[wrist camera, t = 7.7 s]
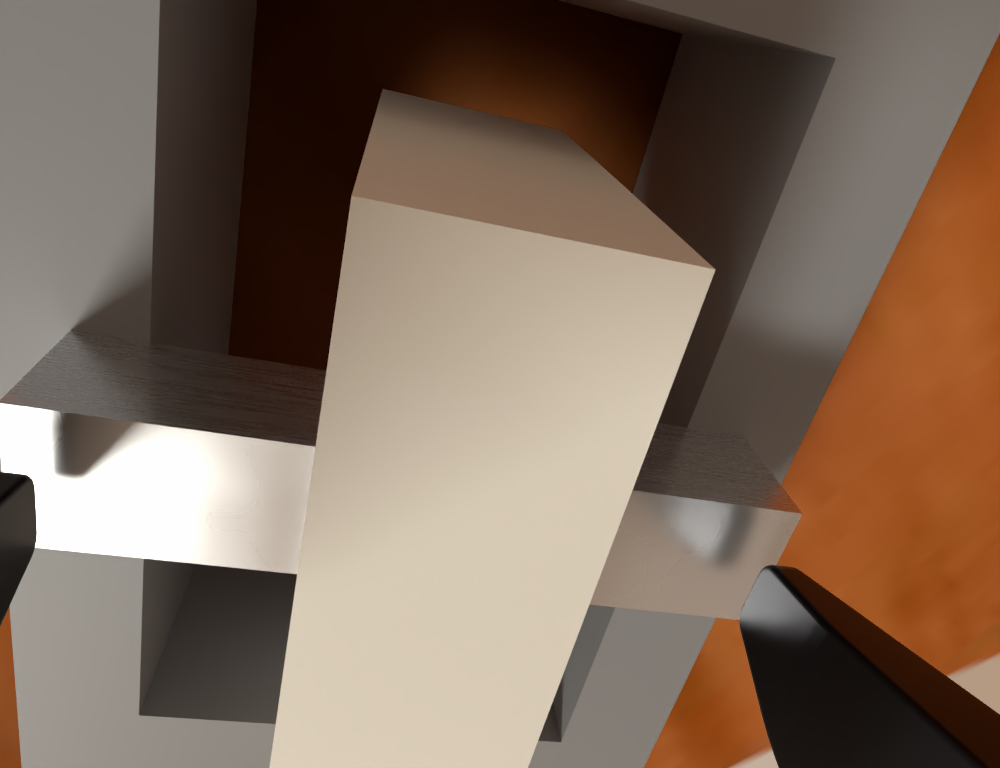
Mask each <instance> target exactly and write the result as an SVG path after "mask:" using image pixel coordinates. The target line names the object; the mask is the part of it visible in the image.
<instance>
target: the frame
mask: <svg viewBox="0 0 1000 768" xmlns="http://www.w3.org/2000/svg"><path fill="white" fill-rule="evenodd" d="M559 1H563V2H567V3H570V4H574V5H578V6H581V7H585V8H589V9H592V10H596V11H599V12H603V13H607V14H610V15H614V16H618V17H621V18H625V19H629V20H632V21H636V22H640V23H643V24H647V25H651V26H654V27H658V28H662V29H665V30H669V31H673V32H676V33H680V34H682V37H681V40H680V44H679V47H678V50H677V53H676V56H675V60H674V63H673V66H672V69H671V72H670V76H669V79H668V82H667V85H666V88H665V92H664V95H663V98H662V101H661V104H660V107H659V111H658V114H657V117H656V120H655V123H654V127H653V130H652V133H651V136H650V139H649V143H648V146H647V149H646V152H645V155H644V159H643V162H642V165H641V168H640V171H639V175H638V178H637V181H636V184H635V187H634V191H633V195H634V196H635V197H636V198H638V199H639V200H640V201H641V202H642V203H643V204H644V205H645V206H646V207H647V208H649V209H650V210H651V211H652V212H653V213H654V214H655V215H656V216H657V217H658V218H660V219H661V220H662V221H663V222H664V223H665V224H666V225H667V226H668V227H669V228H670V229H672V230H673V231H674V232H675V233H676V234H677V235H678V236H679V237H680V238H681V239H683V240H684V241H685V242H686V243H687V244H688V245H689V246H690V247H691V248H692V249H694V250H695V251H696V252H697V253H698V254H699V255H700V256H701V257H702V258H703V259H705V260H706V261H707V262H708V263H709V264H710V265H711V266H712V267H713V268H714V269H716V270H715V273H714V275H713V278H712V281H711V283H710V286H709V289H708V291H707V294H706V297H705V299H704V302H703V304H702V307H701V310H700V312H699V315H698V318H697V320H696V323H695V326H694V328H693V331H692V334H691V336H690V339H689V342H688V344H687V347H686V350H685V352H684V355H683V358H682V360H681V363H680V366H679V368H678V371H677V373H676V376H675V379H674V381H673V384H672V387H671V389H670V392H669V395H668V397H667V400H666V403H665V405H664V408H663V411H662V413H661V416H660V419H659V421H658V423H661V424H667V425H674V426H680V427H686V428H693V429H699V430H705V431H711V432H718V433H724V434H730V435H737V436H743V437H745V438H746V439H747V441H748V442H749V443H750V445H751V446H752V447H753V449H754V450H755V451H756V453H757V454H758V455H759V457H760V458H761V459H762V461H763V462H764V463H765V465H766V466H767V467H768V469H769V470H770V471H771V473H772V474H773V475H774V477H775V478H776V479H777V481H778V482H779V483H780V485H781V483H782V481H783V479H784V477H785V475H786V473H787V471H788V469H789V467H790V465H791V463H792V461H793V458H794V456H795V454H796V452H797V450H798V448H799V446H800V444H801V442H802V440H803V438H804V436H805V434H806V432H807V430H808V428H809V425H810V423H811V421H812V419H813V417H814V415H815V413H816V411H817V409H818V407H819V405H820V403H821V401H822V399H823V397H824V395H825V393H826V390H827V388H828V386H829V384H830V382H831V380H832V378H833V376H834V374H835V372H836V370H837V368H838V366H839V364H840V362H841V360H842V357H843V355H844V353H845V351H846V349H847V347H848V345H849V343H850V341H851V339H852V337H853V335H854V333H855V331H856V329H857V327H858V324H859V322H860V320H861V318H862V316H863V314H864V312H865V310H866V308H867V306H868V304H869V302H870V300H871V298H872V296H873V294H874V291H875V289H876V287H877V285H878V283H879V281H880V279H881V277H882V275H883V273H884V271H885V269H886V267H887V265H888V263H889V261H890V258H891V256H892V254H893V252H894V250H895V248H896V246H897V244H898V242H899V240H900V238H901V236H902V234H903V232H904V230H905V228H906V225H907V223H908V221H909V219H910V217H911V215H912V213H913V211H914V209H915V207H916V205H917V203H918V201H919V199H920V197H921V195H922V193H923V190H924V188H925V186H926V184H927V182H928V180H929V178H930V176H931V174H932V172H933V170H934V168H935V166H936V164H937V162H938V160H939V157H940V155H941V153H942V151H943V149H944V147H945V145H946V143H947V141H948V139H949V137H950V135H951V133H952V131H953V129H954V127H955V124H956V122H957V120H958V118H959V116H960V114H961V112H962V110H963V108H964V106H965V104H966V102H967V100H968V98H969V96H970V94H971V91H972V89H973V87H974V85H975V83H976V81H977V79H978V77H979V75H980V73H981V71H982V69H983V67H984V65H985V63H986V61H987V58H988V56H989V54H990V52H991V50H992V48H993V46H994V44H995V42H996V40H997V38H998V36H999V34H1000V0H559ZM256 10H257V0H0V400H1V399H2V398H3V397H4V396H5V395H6V394H7V393H8V392H9V391H10V390H11V389H12V388H13V387H14V386H15V385H16V384H17V383H18V382H19V381H20V380H21V379H22V378H23V377H24V376H25V375H26V374H27V373H28V372H29V371H30V370H31V369H32V368H33V367H34V366H35V365H36V364H37V363H38V362H39V361H40V360H41V359H42V358H43V357H44V356H45V355H46V354H47V353H48V352H49V351H50V350H51V349H52V348H53V347H54V346H55V345H56V344H57V343H58V342H59V341H60V340H61V339H62V338H63V337H64V336H65V335H66V334H67V333H68V332H69V331H70V330H73V331H79V332H86V333H92V334H98V335H105V336H111V337H117V338H124V339H130V340H136V341H143V342H149V343H155V344H162V345H168V346H174V347H180V348H187V349H193V350H199V351H206V352H212V353H218V354H225V355H229V343H230V331H231V318H232V306H233V294H234V281H235V269H236V257H237V244H238V232H239V220H240V207H241V195H242V183H243V170H244V158H245V146H246V133H247V121H248V109H249V96H250V84H251V72H252V59H253V47H254V35H255V22H256ZM0 471H1V472H2V461H1V447H0ZM296 579H297V574H290V573H280V572H270V571H261V570H251V569H241V568H232V567H222V566H212V565H203V564H193V563H183V562H174V561H164V560H154V559H145V558H135V557H125V556H116V555H106V554H96V553H87V552H77V551H67V550H58V549H48V548H38V547H35V550H34V553H33V555H32V558H31V560H30V562H29V564H28V566H27V569H26V571H25V573H24V575H23V577H22V580H21V582H20V584H19V586H18V588H17V591H16V593H15V595H14V597H13V599H12V602H11V604H10V618H11V631H12V644H13V658H14V671H15V684H16V698H17V711H18V724H19V738H20V751H21V764H22V768H269V767H270V760H271V753H272V746H273V739H274V732H275V725H276V718H277V711H278V704H279V697H280V690H281V683H282V676H283V669H284V662H285V656H286V649H287V642H288V635H289V628H290V621H291V614H292V607H293V600H294V593H295V586H296ZM715 619H716V618H715V617H706V616H696V615H686V614H677V613H667V612H657V611H648V610H638V609H628V608H619V607H609V606H599V605H590V604H589V607H588V610H587V612H586V615H585V618H584V620H583V623H582V626H581V628H580V631H579V634H578V636H577V639H576V642H575V644H574V647H573V649H572V652H571V655H570V657H569V660H568V663H567V665H566V668H565V671H564V673H563V676H562V679H561V681H560V684H559V687H558V689H557V692H556V695H555V697H554V700H553V703H552V705H551V708H550V711H549V713H548V716H547V718H546V721H545V724H544V726H543V729H542V732H541V734H540V737H539V740H538V742H537V745H536V748H535V750H534V753H533V756H532V758H531V761H530V764H529V766H528V768H644V766H645V764H646V762H647V760H648V757H649V755H650V753H651V751H652V749H653V747H654V745H655V743H656V741H657V739H658V737H659V735H660V733H661V731H662V729H663V727H664V724H665V722H666V720H667V718H668V716H669V714H670V712H671V710H672V708H673V706H674V704H675V702H676V700H677V698H678V696H679V694H680V691H681V689H682V687H683V685H684V683H685V681H686V679H687V677H688V675H689V673H690V671H691V669H692V667H693V665H694V663H695V661H696V658H697V656H698V654H699V652H700V650H701V648H702V646H703V644H704V642H705V640H706V638H707V636H708V634H709V632H710V630H711V628H712V625H713V623H714V621H715Z"/></svg>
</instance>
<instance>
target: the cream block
mask: <svg viewBox="0 0 1000 768" xmlns="http://www.w3.org/2000/svg"><path fill="white" fill-rule="evenodd" d="M715 270H716V269H714V268H713V267H712V266H711V265H710V264H709V263H708V262H707V261H706V260H705V259H703V258H702V257H701V256H700V255H699V254H698V253H697V252H696V251H695V250H694V249H692V248H691V247H690V246H689V245H688V244H687V243H686V242H685V241H684V240H683V239H681V238H680V237H679V236H678V235H677V234H676V233H675V232H674V231H673V230H672V229H670V228H669V227H668V226H667V225H666V224H665V223H664V222H663V221H662V220H661V219H660V218H658V217H657V216H656V215H655V214H654V213H653V212H652V211H651V210H650V209H649V208H647V207H646V206H645V205H644V204H643V203H642V202H641V201H640V200H639V199H638V198H636V197H635V196H634V195H633V194H632V193H631V192H630V191H629V190H628V189H627V188H625V187H624V186H623V185H622V184H621V183H620V182H619V181H618V180H617V179H616V178H614V177H613V176H612V175H611V174H610V173H609V172H608V171H607V170H606V169H605V168H603V167H602V166H601V165H600V164H599V163H598V162H597V161H596V160H595V159H594V158H592V157H591V156H590V155H589V154H588V153H587V152H586V151H585V150H584V149H583V148H582V147H580V146H579V145H578V144H577V143H576V142H575V141H574V140H573V139H572V138H571V137H569V136H568V135H567V134H566V133H565V132H564V131H562V130H557V129H553V128H549V127H544V126H540V125H536V124H532V123H527V122H523V121H519V120H514V119H510V118H506V117H502V116H497V115H493V114H489V113H484V112H480V111H476V110H472V109H467V108H463V107H459V106H455V105H450V104H446V103H442V102H437V101H433V100H429V99H425V98H420V97H416V96H412V95H407V94H403V93H399V92H395V91H390V90H386V89H382V93H381V96H380V100H379V103H378V106H377V110H376V113H375V117H374V120H373V124H372V127H371V131H370V134H369V137H368V141H367V144H366V148H365V151H364V155H363V158H362V162H361V165H360V168H359V172H358V175H357V179H356V182H355V186H354V189H353V192H352V196H351V203H350V210H349V217H348V224H347V231H346V238H345V245H344V252H343V259H342V266H341V273H340V280H339V287H338V294H337V301H336V308H335V315H334V322H333V328H332V335H331V342H330V349H329V356H328V363H327V370H326V377H325V384H324V391H323V398H322V405H321V412H320V419H319V426H318V433H317V440H316V447H315V454H314V461H313V468H312V475H311V482H310V489H309V495H308V502H307V509H306V516H305V523H304V530H303V537H302V544H301V551H300V558H299V565H298V572H297V579H296V586H295V593H294V600H293V607H292V614H291V621H290V628H289V635H288V642H287V649H286V656H285V662H284V669H283V676H282V683H281V690H280V697H279V704H278V711H277V718H276V725H275V732H274V739H273V746H272V753H271V760H270V767H269V768H528V766H529V764H530V761H531V758H532V756H533V753H534V750H535V748H536V745H537V742H538V740H539V737H540V734H541V732H542V729H543V726H544V724H545V721H546V718H547V716H548V713H549V711H550V708H551V705H552V703H553V700H554V697H555V695H556V692H557V689H558V687H559V684H560V681H561V679H562V676H563V673H564V671H565V668H566V665H567V663H568V660H569V657H570V655H571V652H572V649H573V647H574V644H575V642H576V639H577V636H578V634H579V631H580V628H581V626H582V623H583V620H584V618H585V615H586V612H587V610H588V607H589V604H590V602H591V599H592V596H593V594H594V591H595V588H596V586H597V583H598V580H599V578H600V575H601V573H602V570H603V567H604V565H605V562H606V559H607V557H608V554H609V551H610V549H611V546H612V543H613V541H614V538H615V535H616V533H617V530H618V527H619V525H620V522H621V519H622V517H623V514H624V511H625V509H626V506H627V504H628V501H629V498H630V496H631V493H632V490H633V488H634V485H635V482H636V480H637V477H638V474H639V472H640V469H641V466H642V464H643V461H644V458H645V456H646V453H647V450H648V448H649V445H650V442H651V440H652V437H653V435H654V432H655V429H656V427H657V424H658V421H659V419H660V416H661V413H662V411H663V408H664V405H665V403H666V400H667V397H668V395H669V392H670V389H671V387H672V384H673V381H674V379H675V376H676V373H677V371H678V368H679V366H680V363H681V360H682V358H683V355H684V352H685V350H686V347H687V344H688V342H689V339H690V336H691V334H692V331H693V328H694V326H695V323H696V320H697V318H698V315H699V312H700V310H701V307H702V304H703V302H704V299H705V297H706V294H707V291H708V289H709V286H710V283H711V281H712V278H713V275H714V273H715Z"/></svg>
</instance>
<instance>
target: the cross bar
mask: <svg viewBox="0 0 1000 768" xmlns="http://www.w3.org/2000/svg"><path fill="white" fill-rule="evenodd" d="M325 377H326V370H320V369H313V368H307V367H301V366H294V365H288V364H282V363H275V362H269V361H263V360H256V359H250V358H244V357H237V356H231V355H225V354H218V353H212V352H206V351H199V350H193V349H187V348H180V347H174V346H168V345H162V344H155V343H149V342H143V341H136V340H130V339H124V338H117V337H111V336H105V335H98V334H92V333H86V332H79V331H73V330H70V331H69V332H68V333H67V334H66V335H65V336H64V337H63V338H62V339H61V340H60V341H59V342H58V343H57V344H56V345H55V346H54V347H53V348H52V349H51V350H50V351H49V352H48V353H47V354H46V355H45V356H44V357H43V358H42V359H41V360H40V361H39V362H38V363H37V364H36V365H35V366H34V367H33V368H32V369H31V370H30V371H29V372H28V373H27V374H26V375H25V376H24V377H23V378H22V379H21V380H20V381H19V382H18V383H17V384H16V385H15V386H14V387H13V388H12V389H11V390H10V391H9V392H8V393H7V394H6V395H5V396H4V397H3V398H2V399H1V400H0V447H1V461H2V472H10V473H18V474H25V475H28V476H29V477H30V478H32V480H33V482H34V485H35V497H36V517H37V541H36V546H35V547H38V548H48V549H58V550H67V551H77V552H87V553H96V554H106V555H116V556H125V557H135V558H145V559H154V560H164V561H174V562H183V563H193V564H203V565H212V566H222V567H232V568H241V569H251V570H261V571H270V572H280V573H290V574H297V572H298V565H299V558H300V551H301V544H302V537H303V530H304V523H305V516H306V509H307V502H308V495H309V489H310V482H311V475H312V468H313V461H314V454H315V447H316V440H317V433H318V426H319V419H320V412H321V405H322V398H323V391H324V384H325ZM801 515H802V513H801V511H800V510H799V509H798V507H797V506H796V505H795V503H794V502H793V501H792V499H791V498H790V497H789V495H788V494H787V493H786V491H785V490H784V489H783V487H782V486H781V485H780V483H779V482H778V481H777V479H776V478H775V477H774V475H773V474H772V473H771V471H770V470H769V469H768V467H767V466H766V465H765V463H764V462H763V461H762V459H761V458H760V457H759V455H758V454H757V453H756V451H755V450H754V449H753V447H752V446H751V445H750V443H749V442H748V441H747V439H746V438H745V437H743V436H737V435H730V434H724V433H718V432H711V431H705V430H699V429H693V428H686V427H680V426H674V425H667V424H661V423H658V424H657V427H656V429H655V432H654V435H653V437H652V440H651V442H650V445H649V448H648V450H647V453H646V456H645V458H644V461H643V464H642V466H641V469H640V472H639V474H638V477H637V480H636V482H635V485H634V488H633V490H632V493H631V496H630V498H629V501H628V504H627V506H626V509H625V511H624V514H623V517H622V519H621V522H620V525H619V527H618V530H617V533H616V535H615V538H614V541H613V543H612V546H611V549H610V551H609V554H608V557H607V559H606V562H605V565H604V567H603V570H602V573H601V575H600V578H599V580H598V583H597V586H596V588H595V591H594V594H593V596H592V599H591V602H590V605H599V606H609V607H619V608H628V609H638V610H648V611H657V612H667V613H677V614H686V615H696V616H706V617H715V618H725V619H735V620H740V613H741V609H742V606H743V604H744V602H745V600H746V598H747V596H748V594H749V592H750V590H751V588H752V586H753V584H754V582H755V580H756V578H757V576H758V574H759V573H760V571H761V570H762V569H763V568H764V567H765V566H768V565H776V564H777V562H778V560H779V559H780V557H781V555H782V553H783V551H784V549H785V547H786V545H787V543H788V541H789V539H790V537H791V535H792V533H793V531H794V529H795V527H796V525H797V523H798V521H799V519H800V517H801Z"/></svg>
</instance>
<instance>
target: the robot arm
mask: <svg viewBox="0 0 1000 768" xmlns="http://www.w3.org/2000/svg"><path fill="white" fill-rule="evenodd" d="M36 541H37V517H36V497H35V485H34V482H33V480H32V478H30V477H29V476H28V475H25V474H18V473H10V472H1V471H0V626H1V623H2V621H3V619H4V617H5V615H6V612H7V610H8V608H9V606H10V604H11V602H12V599H13V597H14V595H15V593H16V591H17V588H18V586H19V584H20V582H21V580H22V577H23V575H24V573H25V571H26V569H27V566H28V564H29V562H30V560H31V558H32V555H33V553H34V550H35V546H36ZM740 629H741V633H742V637H743V641H744V645H745V649H746V653H747V657H748V661H749V665H750V669H751V673H752V677H753V681H754V685H755V689H756V693H757V697H758V701H759V705H760V709H761V713H762V717H763V720H764V724H765V727H766V731H767V734H768V738H769V741H770V744H771V747H772V750H773V753H774V756H775V758H776V761H777V764H778V766H779V768H1000V714H998V713H997V712H995V711H994V710H992V709H991V708H990V707H988V706H987V705H986V704H984V703H983V702H981V701H980V700H979V699H977V698H976V697H975V696H973V695H971V694H970V693H969V692H968V691H966V690H965V689H963V688H962V687H961V686H959V685H958V684H957V683H955V682H954V681H952V680H951V679H950V678H948V677H947V676H945V675H944V674H943V673H941V672H940V671H939V670H937V669H936V668H934V667H933V666H932V665H930V664H929V663H927V662H926V661H925V660H923V659H922V658H920V657H919V656H918V655H916V654H915V653H914V652H912V651H911V650H909V649H908V648H907V647H905V646H904V645H902V644H901V643H900V642H898V641H897V640H896V639H894V638H893V637H891V636H890V635H889V634H887V633H886V632H884V631H883V630H882V629H880V628H879V627H878V626H876V625H875V624H873V623H872V622H871V621H869V620H868V619H866V618H865V617H864V616H862V615H861V614H860V613H858V612H857V611H855V610H854V609H853V608H851V607H850V606H848V605H847V604H846V603H844V602H843V601H841V600H840V599H839V598H837V597H836V596H835V595H833V594H832V593H830V592H829V591H828V590H826V589H825V588H823V587H822V586H821V585H819V584H818V583H817V582H815V581H814V580H812V579H811V578H810V577H808V576H807V575H805V574H804V573H803V572H801V571H800V570H798V569H796V568H793V567H786V566H778V565H768V566H765V567H764V568H763V569H762V570H761V571H760V573H759V574H758V576H757V578H756V580H755V582H754V584H753V586H752V588H751V590H750V592H749V594H748V596H747V598H746V600H745V602H744V604H743V606H742V609H741V613H740Z"/></svg>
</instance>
